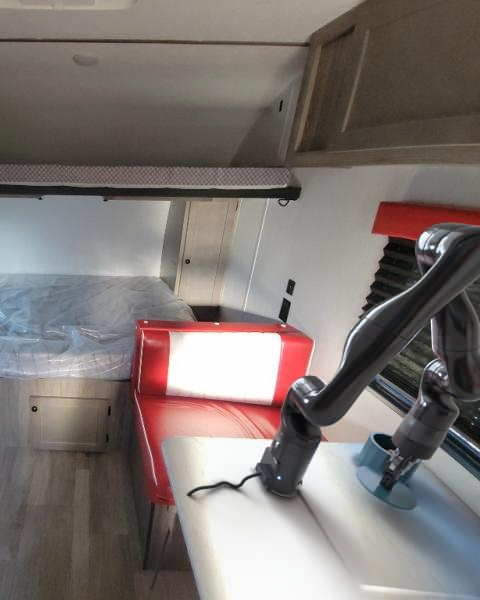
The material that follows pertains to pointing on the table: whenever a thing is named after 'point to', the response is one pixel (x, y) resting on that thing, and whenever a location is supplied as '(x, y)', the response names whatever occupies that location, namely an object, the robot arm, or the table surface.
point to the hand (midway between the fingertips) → (386, 484)
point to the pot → (382, 454)
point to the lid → (393, 496)
